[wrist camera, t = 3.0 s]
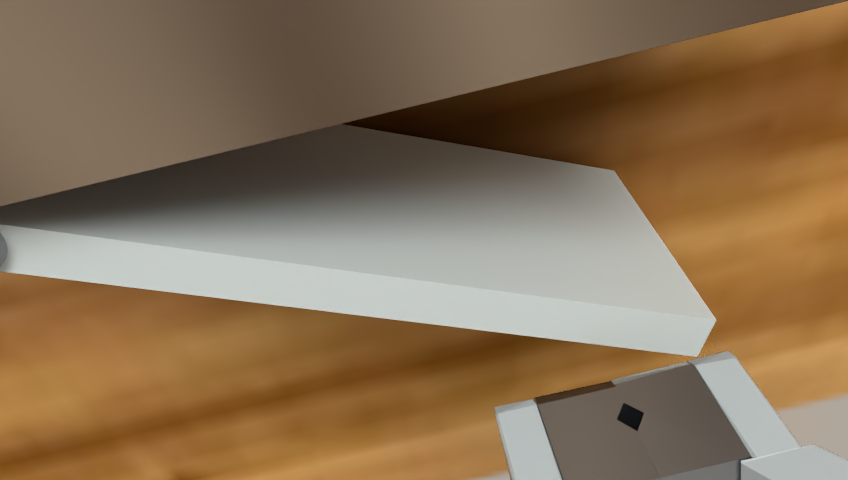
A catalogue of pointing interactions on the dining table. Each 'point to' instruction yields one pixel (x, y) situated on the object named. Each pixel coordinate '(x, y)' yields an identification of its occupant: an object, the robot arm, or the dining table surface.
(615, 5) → the case
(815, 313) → the dining table surface
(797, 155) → the dining table surface
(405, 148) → the door
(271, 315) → the dining table surface
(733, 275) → the dining table surface
